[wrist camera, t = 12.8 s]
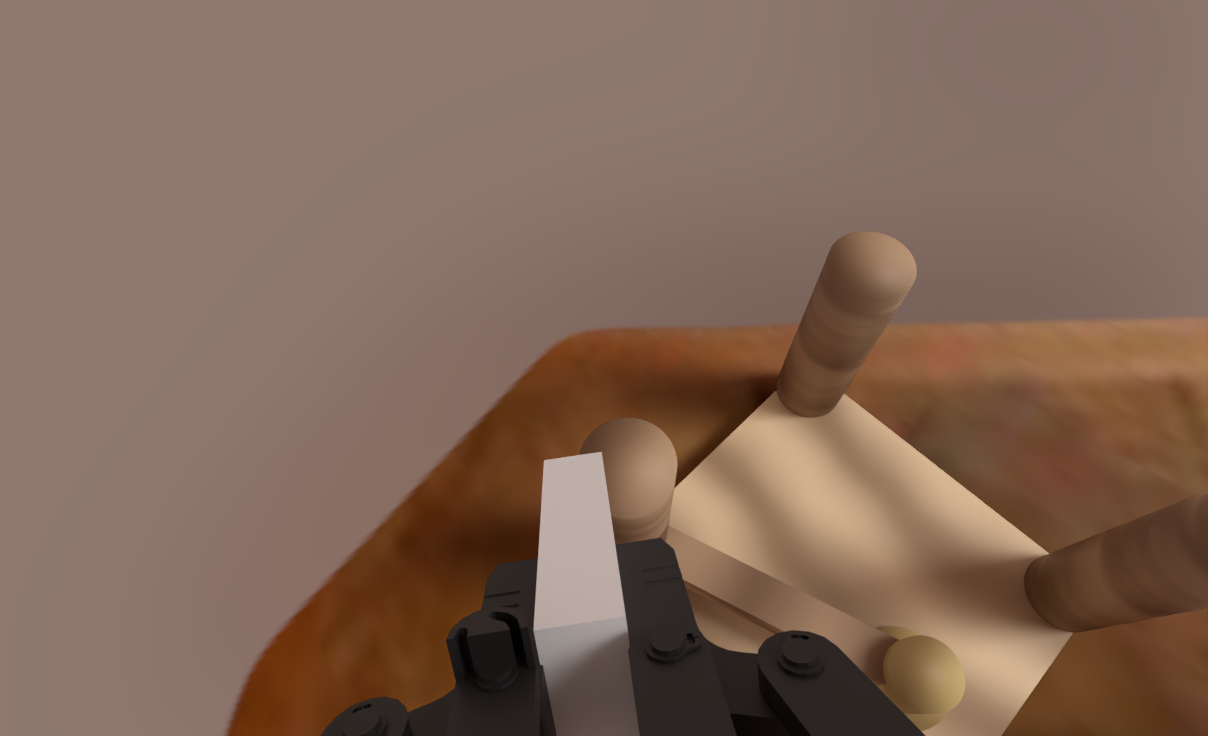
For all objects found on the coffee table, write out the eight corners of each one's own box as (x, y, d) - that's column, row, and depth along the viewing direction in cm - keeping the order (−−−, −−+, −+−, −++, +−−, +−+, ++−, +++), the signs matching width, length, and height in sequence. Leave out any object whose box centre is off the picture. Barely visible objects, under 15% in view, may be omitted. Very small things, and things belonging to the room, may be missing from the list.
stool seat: (794, 360, 40) (858, 215, 28) (1098, 598, 33) (1351, 534, 21) (560, 585, 34) (520, 518, 23) (865, 934, 27) (1035, 1098, 15)
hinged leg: (948, 655, 30) (1097, 625, 20) (928, 734, 28) (1077, 744, 19) (615, 491, 34) (606, 402, 25) (583, 552, 33) (560, 484, 23)
